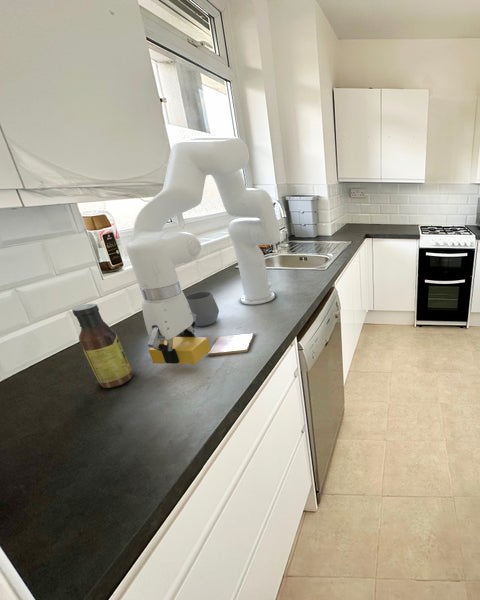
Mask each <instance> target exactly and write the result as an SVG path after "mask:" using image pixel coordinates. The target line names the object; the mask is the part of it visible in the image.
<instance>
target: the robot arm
mask: <svg viewBox="0 0 480 600" xmlns="http://www.w3.org/2000/svg"><path fill="white" fill-rule="evenodd" d="M249 161H250V151H249V148H248V145H247V143H246V142H245V141H244V140H243V139H242V138H240V137H237V136H215V135H211V136H210V135H207V136H206V135H205V136H203V135H202V136H200V135H198V136H192V137H189V138H187V139H186V140H181V141H176V142H175V143H174V144H173V145H172V147H171V149H170V153H169V157H168V162H167V167H166V171H165V175H164V179H163V186H162V189H161V191H159V192H158V193H157V194H156V195H154V196H153V197H152V198H151V199H149V201H148V202H147V203H146V204H145V205H144V206H143V207H142V209H140V211H138V213H137V215H136V217H135V220H134V223H133V228H132V232H131V239H130V241H129V242H128V243H127V244H126V246H125V247H126V248H125V249H126V252H127V255H128V258H129V261H130V264H131V267H132V269H133V273H134V275H135V278H136V281H137V284H138V287H139V289H140V292H141V295H142V298H143V300H144V301H142V302H141V309H142V316H143V321H144V325H145V329H146V331H147V335H148V337H149V339H148V342H147V344H146V345H147V347H149V348H154V349H157V350H159V351H162V354H163V357H164V360H165V362H166V363H165V364H169V363H174V364H173V365H175V364H177V363H178V362H179V359H178V356H177V353H176V350H175V349H173V338H174V337H175V336H177V335H178V334H180V333H181V332H182V333H184V334H182V335H181V336H182V337H196V336H195V333H196V329H195V326H196V325H195V320H196V314H194V313H192V312H191V309H190V307H189V304H188V302H187V299H186V295H185V293H184V292H183V290H182V287H181V284H180V281H179V276H178V273H177V271H176V265H180V264H186V263H190V262H193V261H194V260H196V259H197V258H198V257H199V256H200V254H201V251H202V245H201V241H200V240H199V239H198V237H196V235H194V234H193V233H189V232H186V231H162V229H163V228H164V226H165V225H166V224H167V223H168V222H169V221H170V220H171V219H173V218H175V217H176V216H178V215H181V214H183V213H186V212H188V211H190V210H193V209H195V208H196V207H198V206H199V205H200V204H202V200H203V195H204V188H205V183H206V178H207V176H211V177H212V178H213V180H214V182H215V185H216V188H217V190H218V193H219V197H220V199H221V202H222V205H223V207H224V209H225V212H226V213H227V214H228V215H229V216H230V217H234V218H236V219H233V220H231V221H230V223H229V224H228V226H227V231H228V236H229V238H230V240H231V243H232V245H233V249H234V251H235V255H236V261H237V265H238V271H239V275H240V280H241V281H240V282H241V285H242V291H243V295H242V296H241V298H240V302H241V303H242V304H244V305H251V306H252V305H261V304H262V305H263V304H266V303H269V302H271V301H273V300H274V299H275V298H276V295H275V293H274V291H271V287H273V283H272V282H269V277H268V271H267V270H268V269H267V266H266V259H265V254H264V252H263V250H262V249H261V248H260V247H259V246H270V245H271V246H272V245H275V244H278V243H279V242H280V239H281V230H280V225H279V222H278V221H279V220H278V218H277V214H276V210H275V206H274V201H273V199H272V196H271V195H270V193H268V191H267V190H265V189H262V188H248V187H247V186H246V184H245V182H244V177H243V175H242V172H241V171H240V170H242V169H244V168H245V167H247V165H248V164H249ZM164 337H165V338H164ZM164 340H165V341H167V345H164ZM177 365H178V364H177Z"/></svg>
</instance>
